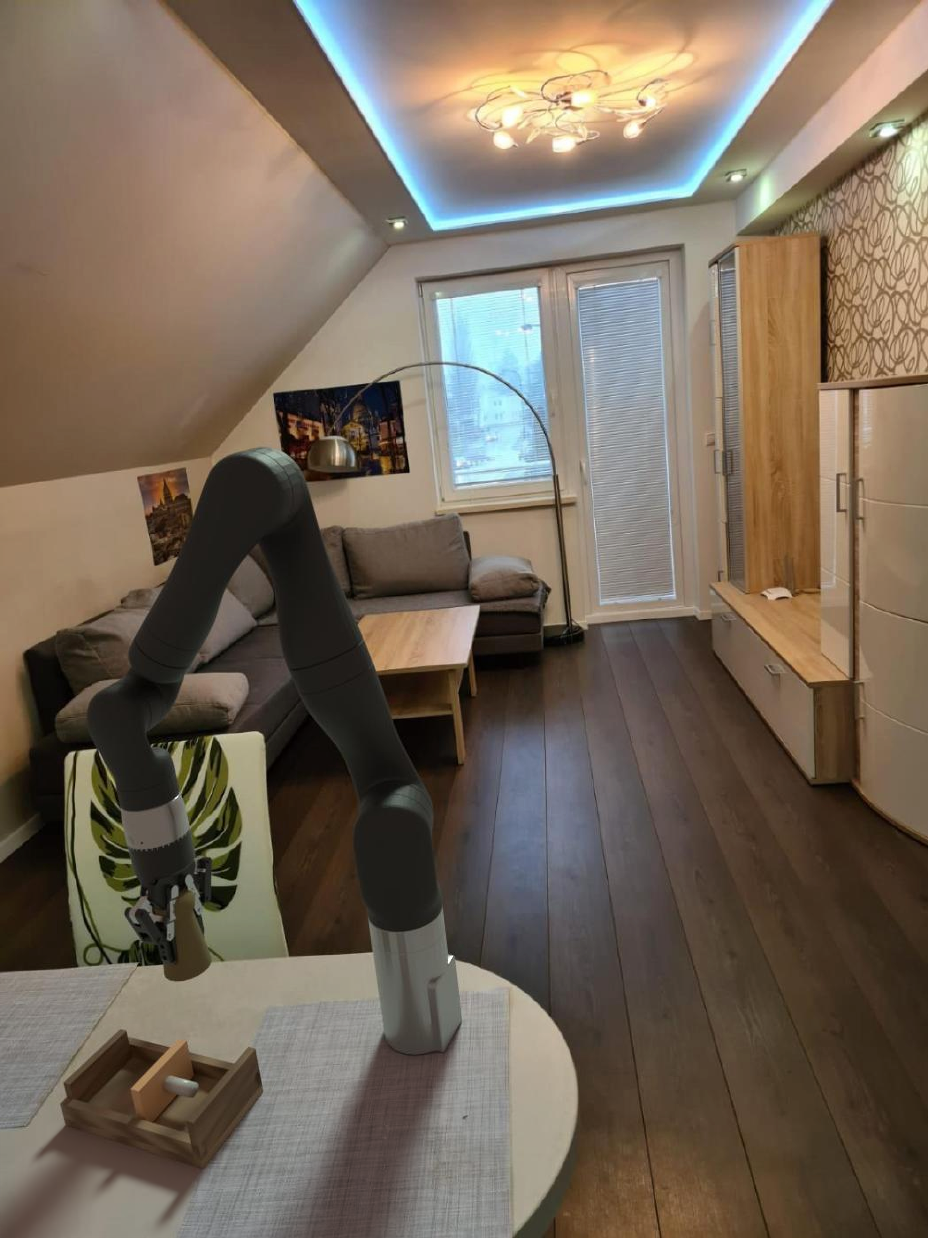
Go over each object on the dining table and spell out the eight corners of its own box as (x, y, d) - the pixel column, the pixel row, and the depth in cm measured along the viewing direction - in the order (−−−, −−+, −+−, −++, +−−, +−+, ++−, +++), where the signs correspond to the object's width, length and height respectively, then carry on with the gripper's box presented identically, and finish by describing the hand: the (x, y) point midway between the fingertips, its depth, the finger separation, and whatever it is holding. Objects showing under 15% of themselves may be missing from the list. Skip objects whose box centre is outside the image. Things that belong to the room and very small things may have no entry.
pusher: (219, 1082, 100) (212, 1047, 99) (173, 1136, 93) (165, 1099, 92) (186, 1073, 102) (178, 1038, 101) (138, 1126, 95) (130, 1089, 94)
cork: (197, 982, 106) (180, 905, 103) (154, 981, 107) (136, 904, 105) (220, 952, 111) (204, 878, 109) (179, 951, 113) (162, 878, 110)
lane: (263, 1091, 100) (255, 1048, 99) (203, 1169, 90) (193, 1123, 89) (133, 1056, 108) (124, 1017, 106) (65, 1125, 98) (54, 1082, 96)
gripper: (140, 864, 97) (170, 992, 101) (218, 807, 110) (242, 922, 114) (91, 858, 100) (122, 982, 104) (173, 803, 113) (198, 916, 117)
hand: (184, 950), depth 109 cm, fingers closed on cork, 4 cm apart
